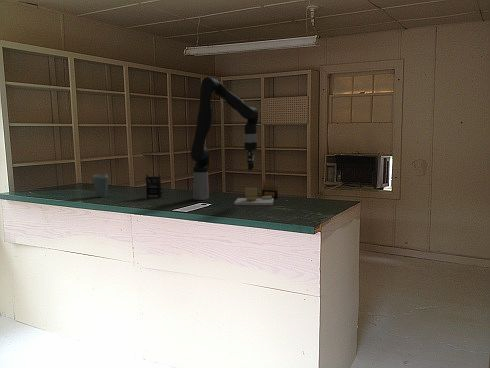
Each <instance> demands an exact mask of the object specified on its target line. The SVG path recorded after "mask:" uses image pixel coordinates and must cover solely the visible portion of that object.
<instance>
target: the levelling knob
mask: <svg viewBox="0 0 490 368" xmlns="http://www.w3.org/2000/svg"><path fill="white" fill-rule="evenodd" d="M244 196H245V197H244V198H246V200H256V199H260V198H261V197H260V196H258V187H245V188H244Z"/></svg>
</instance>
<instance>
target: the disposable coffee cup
mask: <svg viewBox="0 0 490 368" xmlns="http://www.w3.org/2000/svg"><path fill="white" fill-rule="evenodd" d="M91 179H92V183H93V188H94V191H95V196H96V198H98V197H101V198H106V197H107V196H108V188H109V186H108V185H109V175H108V173H97V174H93V175H92V177H91Z"/></svg>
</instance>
